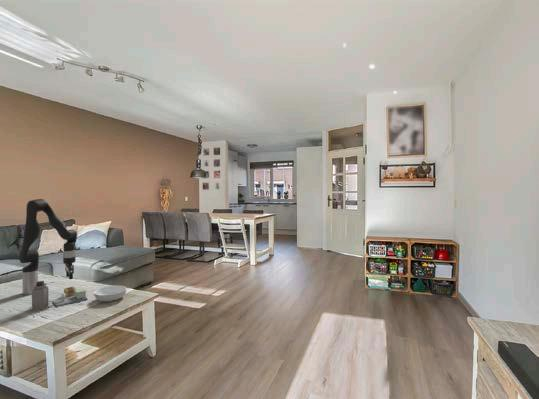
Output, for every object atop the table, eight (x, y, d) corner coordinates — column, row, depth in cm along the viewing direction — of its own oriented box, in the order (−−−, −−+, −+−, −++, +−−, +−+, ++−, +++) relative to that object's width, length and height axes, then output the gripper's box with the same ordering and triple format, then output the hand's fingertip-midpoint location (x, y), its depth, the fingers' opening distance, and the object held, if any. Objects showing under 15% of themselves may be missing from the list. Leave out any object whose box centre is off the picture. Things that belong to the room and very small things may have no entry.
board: (53, 302, 196) (52, 293, 196) (82, 295, 209) (82, 287, 209) (56, 307, 188) (56, 298, 188) (87, 299, 201) (87, 291, 201)
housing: (74, 296, 204) (74, 289, 204) (82, 294, 208) (82, 287, 208) (77, 299, 198) (77, 292, 198) (86, 297, 202) (86, 290, 202)
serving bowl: (112, 306, 191) (112, 296, 190) (86, 303, 195) (86, 293, 195) (132, 295, 211) (132, 286, 211) (109, 293, 215) (109, 284, 215)
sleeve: (64, 296, 207) (63, 288, 207) (73, 294, 212) (73, 286, 212) (66, 298, 203) (65, 290, 203) (75, 296, 208) (75, 288, 208)
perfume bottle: (36, 307, 188) (36, 280, 187) (48, 305, 190) (48, 279, 190) (32, 311, 182) (31, 283, 181) (44, 309, 184) (44, 282, 183)
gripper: (61, 255, 209) (61, 277, 209) (65, 258, 199) (65, 281, 200) (72, 254, 214) (73, 274, 215) (77, 257, 205) (78, 278, 205)
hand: (69, 277), depth 207 cm, fingers open, 8 cm apart
